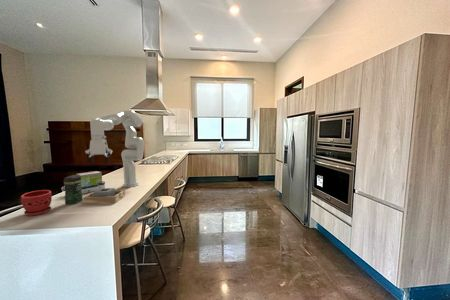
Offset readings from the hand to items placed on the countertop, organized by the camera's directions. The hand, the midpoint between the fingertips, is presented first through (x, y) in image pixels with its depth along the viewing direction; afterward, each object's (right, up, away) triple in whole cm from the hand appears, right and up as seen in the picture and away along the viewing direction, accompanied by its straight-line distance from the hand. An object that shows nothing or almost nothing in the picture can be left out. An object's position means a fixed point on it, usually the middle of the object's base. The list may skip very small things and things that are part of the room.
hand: (99, 162), depth 140 cm
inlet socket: (+4, -25, 0) cm, 26 cm away
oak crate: (+4, -26, 0) cm, 26 cm away
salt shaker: (-6, -25, +13) cm, 29 cm away
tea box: (-23, -24, +25) cm, 41 cm away
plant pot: (-24, -28, -19) cm, 42 cm away
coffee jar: (-15, -27, -3) cm, 31 cm away
